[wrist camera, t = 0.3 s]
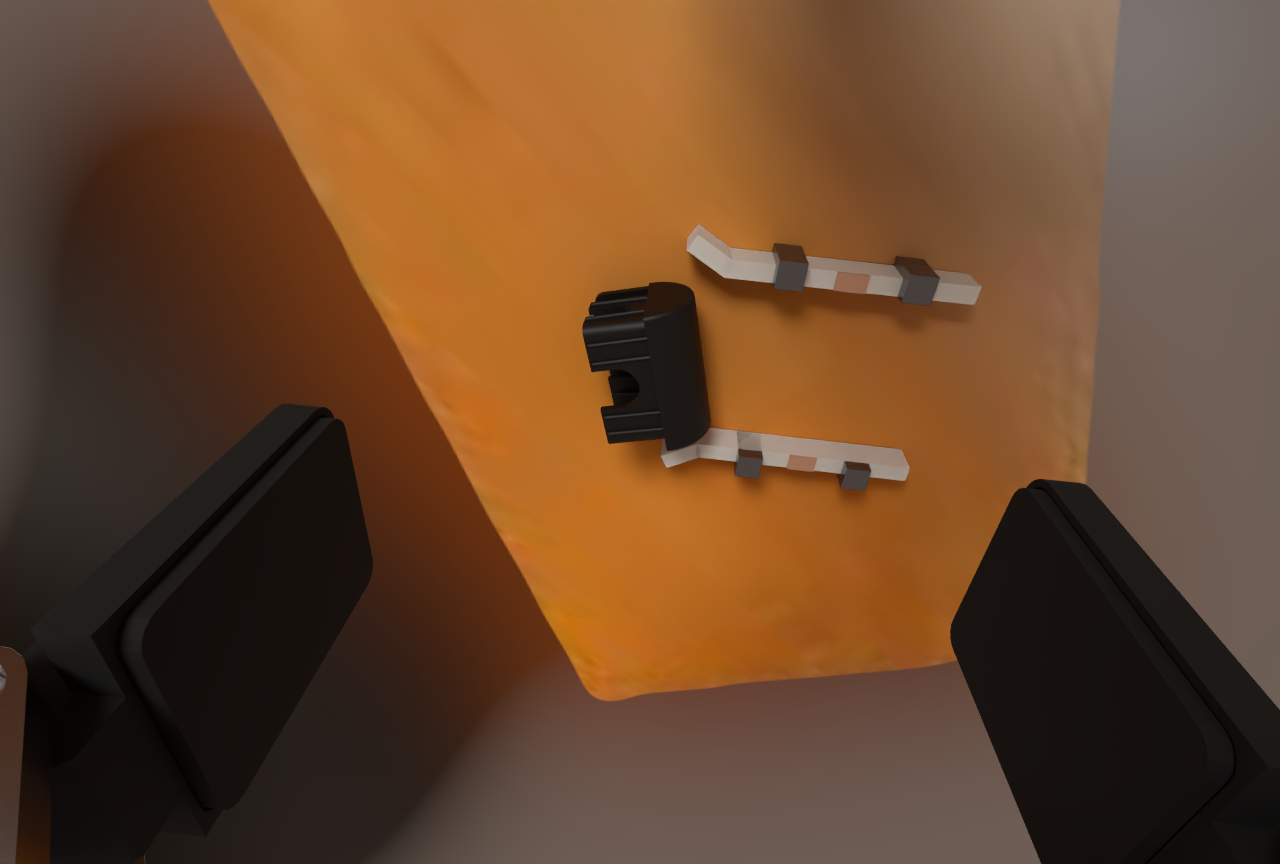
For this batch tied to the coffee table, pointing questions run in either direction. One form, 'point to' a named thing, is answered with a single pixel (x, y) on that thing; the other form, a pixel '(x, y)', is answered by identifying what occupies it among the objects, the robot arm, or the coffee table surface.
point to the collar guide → (793, 273)
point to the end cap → (650, 364)
